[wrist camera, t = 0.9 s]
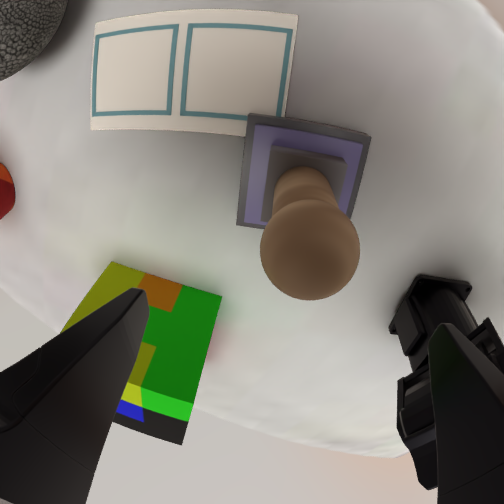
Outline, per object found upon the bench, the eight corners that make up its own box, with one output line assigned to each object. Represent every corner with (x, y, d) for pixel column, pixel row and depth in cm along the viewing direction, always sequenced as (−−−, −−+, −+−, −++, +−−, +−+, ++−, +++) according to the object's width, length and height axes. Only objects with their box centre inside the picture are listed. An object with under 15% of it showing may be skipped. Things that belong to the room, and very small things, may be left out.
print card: (298, 15, 12) (298, 15, 12) (280, 140, 17) (280, 141, 16) (97, 23, 12) (94, 22, 12) (92, 129, 17) (90, 130, 17)
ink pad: (365, 133, 16) (373, 138, 14) (340, 232, 19) (344, 245, 18) (250, 112, 16) (247, 115, 14) (238, 216, 20) (235, 228, 18)
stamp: (342, 157, 15) (393, 236, 8) (327, 220, 17) (352, 330, 10) (271, 144, 15) (257, 212, 8) (262, 209, 17) (243, 317, 10)
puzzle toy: (116, 332, 29) (79, 406, 20) (112, 260, 23) (50, 347, 15) (203, 360, 29) (181, 445, 21) (222, 295, 24) (193, 403, 15)
